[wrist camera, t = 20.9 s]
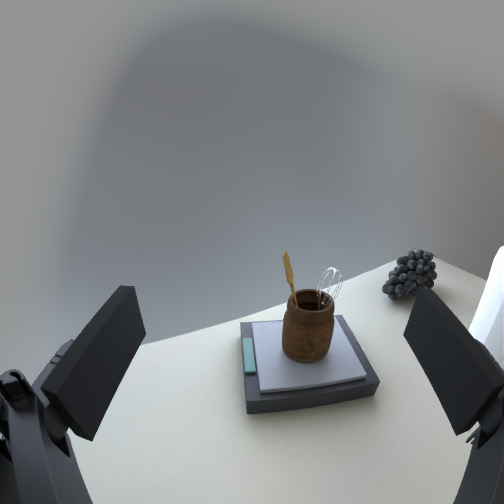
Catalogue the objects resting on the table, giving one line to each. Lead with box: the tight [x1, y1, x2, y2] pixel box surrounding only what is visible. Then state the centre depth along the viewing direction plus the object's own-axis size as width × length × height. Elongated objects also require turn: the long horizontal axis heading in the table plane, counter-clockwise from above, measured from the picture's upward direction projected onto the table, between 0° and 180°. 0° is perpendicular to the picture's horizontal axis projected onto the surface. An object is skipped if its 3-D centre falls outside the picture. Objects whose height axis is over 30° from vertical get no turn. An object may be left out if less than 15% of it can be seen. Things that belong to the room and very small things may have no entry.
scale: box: [240, 315, 380, 414], centre depth 32 cm, size 15×14×3 cm
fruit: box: [382, 250, 437, 300], centre depth 47 cm, size 9×8×15 cm
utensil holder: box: [282, 251, 343, 363], centre depth 29 cm, size 6×6×12 cm
